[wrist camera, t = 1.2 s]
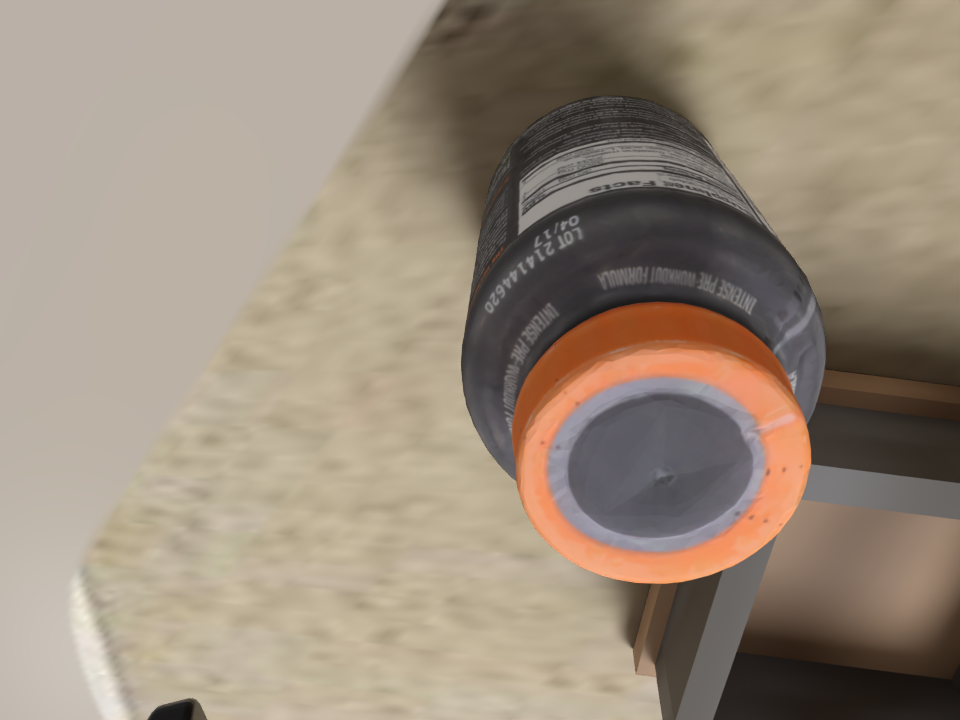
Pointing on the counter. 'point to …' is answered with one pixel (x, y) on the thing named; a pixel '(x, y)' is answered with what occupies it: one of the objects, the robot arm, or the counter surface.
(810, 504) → the holder
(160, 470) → the counter surface
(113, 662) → the counter surface
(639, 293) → the pill bottle
